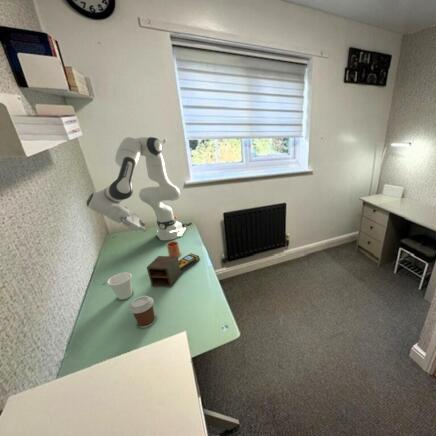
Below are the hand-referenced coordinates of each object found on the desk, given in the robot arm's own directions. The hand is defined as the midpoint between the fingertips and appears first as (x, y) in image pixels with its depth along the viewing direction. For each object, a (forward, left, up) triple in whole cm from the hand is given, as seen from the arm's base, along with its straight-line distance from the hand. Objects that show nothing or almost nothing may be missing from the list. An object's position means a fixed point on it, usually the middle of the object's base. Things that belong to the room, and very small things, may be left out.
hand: (145, 227), depth 139 cm
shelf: (+17, +18, -24) cm, 34 cm away
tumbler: (-7, +10, -24) cm, 27 cm away
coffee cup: (+46, +25, -24) cm, 57 cm away
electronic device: (+2, +21, -24) cm, 32 cm away
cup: (+31, +4, -24) cm, 39 cm away
